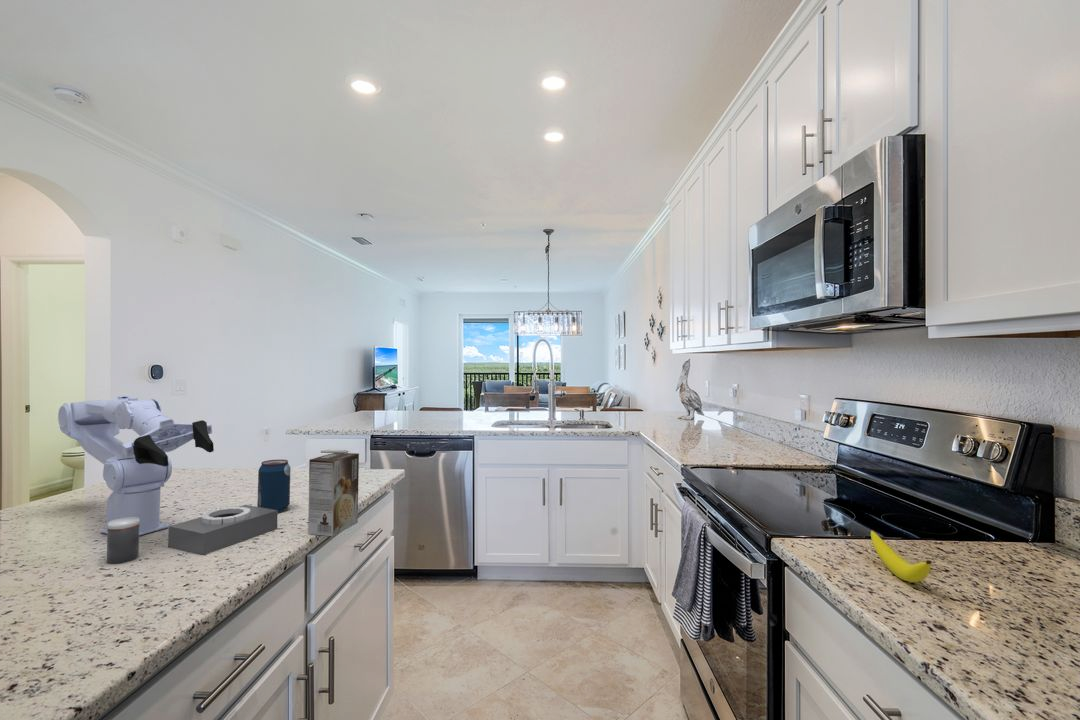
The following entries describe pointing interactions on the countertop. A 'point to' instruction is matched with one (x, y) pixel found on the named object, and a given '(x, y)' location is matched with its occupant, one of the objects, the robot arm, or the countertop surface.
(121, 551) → the lens
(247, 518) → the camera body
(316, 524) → the cardboard rectangular box
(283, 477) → the soda can
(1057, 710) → the countertop surface
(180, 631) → the countertop surface
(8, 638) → the countertop surface
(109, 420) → the robot arm
